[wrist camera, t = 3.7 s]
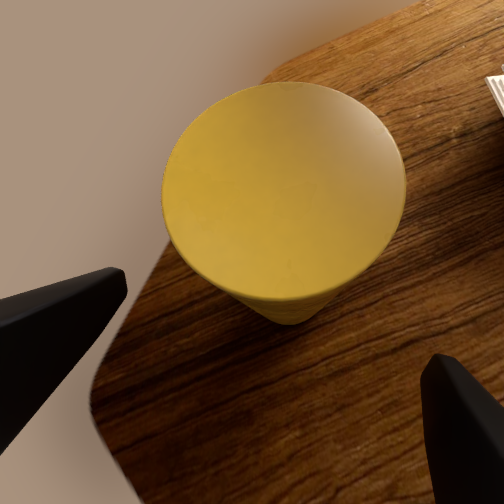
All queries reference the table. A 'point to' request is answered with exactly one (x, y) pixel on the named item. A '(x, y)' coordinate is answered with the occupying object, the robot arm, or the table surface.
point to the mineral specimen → (497, 89)
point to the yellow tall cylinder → (283, 196)
